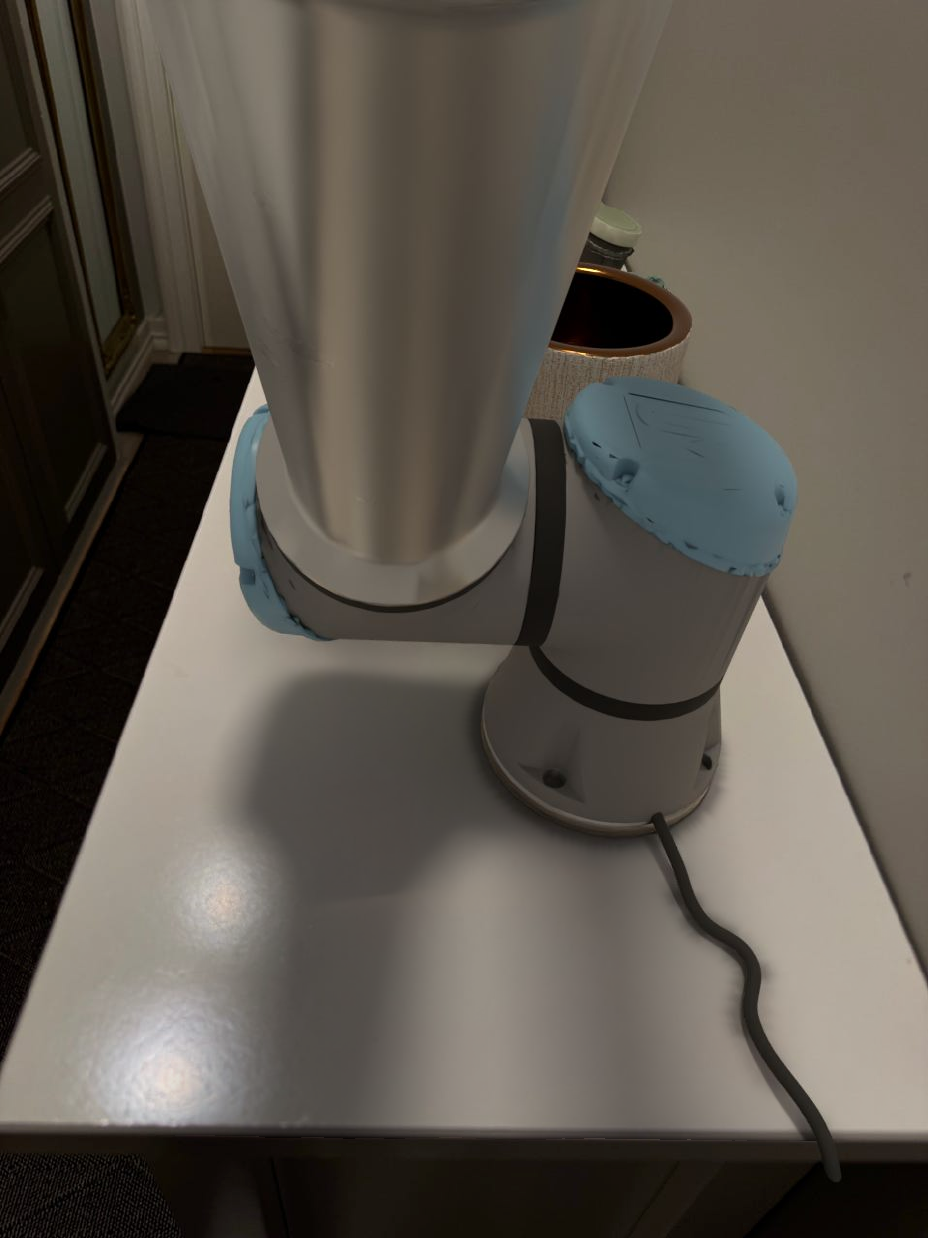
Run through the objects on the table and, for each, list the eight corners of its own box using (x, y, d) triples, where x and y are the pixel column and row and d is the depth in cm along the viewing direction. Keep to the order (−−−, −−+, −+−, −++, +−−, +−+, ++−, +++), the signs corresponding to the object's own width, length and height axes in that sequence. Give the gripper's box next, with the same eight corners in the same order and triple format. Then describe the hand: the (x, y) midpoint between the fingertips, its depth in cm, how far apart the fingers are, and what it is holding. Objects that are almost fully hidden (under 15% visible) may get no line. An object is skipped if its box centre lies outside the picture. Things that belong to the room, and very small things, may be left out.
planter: (678, 464, 81) (728, 302, 70) (593, 557, 69) (637, 381, 58) (518, 399, 87) (541, 241, 76) (416, 475, 75) (426, 302, 65)
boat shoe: (511, 144, 119) (493, 208, 125) (566, 211, 99) (541, 285, 104) (584, 165, 123) (563, 226, 128) (651, 234, 102) (623, 304, 108)
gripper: (578, -159, 36) (513, 331, 50) (453, -171, 53) (432, 193, 67) (400, -180, 34) (386, 332, 48) (332, -186, 52) (336, 191, 66)
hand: (412, 252), depth 58 cm, fingers open, 13 cm apart
